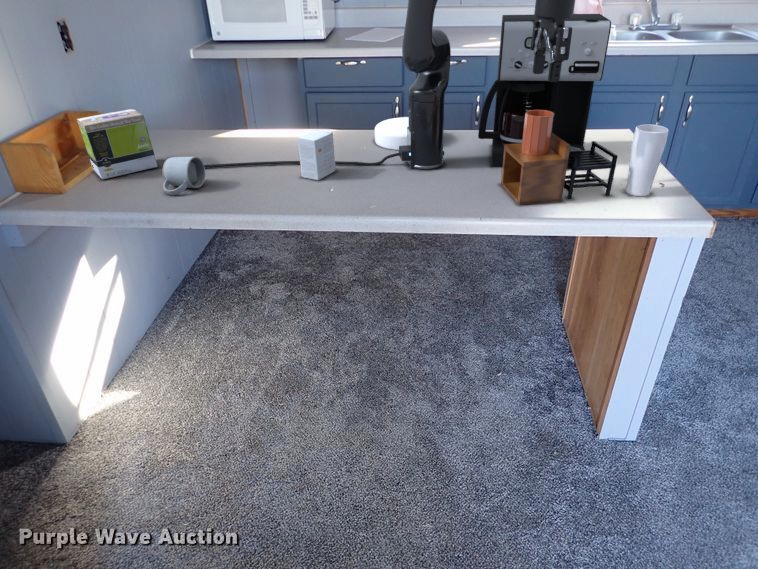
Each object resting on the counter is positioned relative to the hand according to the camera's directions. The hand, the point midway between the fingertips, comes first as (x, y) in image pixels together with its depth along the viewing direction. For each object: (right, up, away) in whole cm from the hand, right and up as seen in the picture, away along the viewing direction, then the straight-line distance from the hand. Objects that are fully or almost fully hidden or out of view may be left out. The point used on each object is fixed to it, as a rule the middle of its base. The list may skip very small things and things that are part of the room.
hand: (545, 77), depth 115 cm
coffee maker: (+6, -9, +36) cm, 37 cm away
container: (-26, 0, +52) cm, 58 cm away
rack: (+12, -21, +15) cm, 28 cm away
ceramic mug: (-84, -20, +23) cm, 89 cm away
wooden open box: (0, -22, +13) cm, 26 cm away
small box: (-51, -15, +28) cm, 60 cm away
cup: (0, -14, +8) cm, 16 cm away
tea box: (-106, -12, +36) cm, 112 cm away
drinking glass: (+25, -23, +12) cm, 36 cm away
